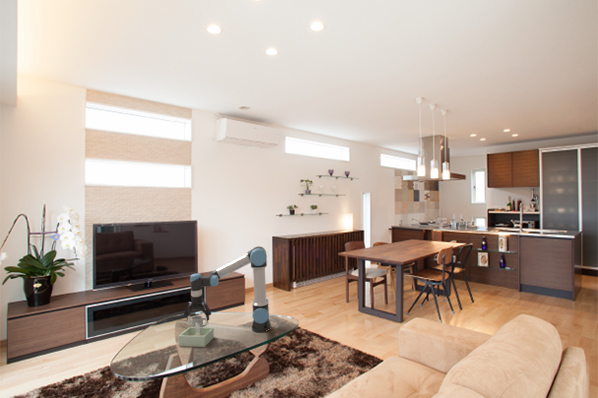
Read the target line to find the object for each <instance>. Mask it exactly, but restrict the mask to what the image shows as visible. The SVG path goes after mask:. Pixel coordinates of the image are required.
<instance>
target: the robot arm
mask: <svg viewBox="0 0 598 398" xmlns="http://www.w3.org/2000/svg"><path fill="white" fill-rule="evenodd" d="M267 259H268V256H267V251H266V249H265V248H264V247H263V246H255V247H253V248H252V249H250V250H249V251H247V252H246V254H244V255H242V256H240V257H238V258H235V259H234V260H232V261H230V262H228V263H227V264H224V265H223V266H220V267H219V268H216V269H215V270H211V271H210V272H209V273H208V275H206V276H205V275H202V274H201V273H193V274H191V275H190V276H189V278H190V279H189V281H190V283H189V284H190V299H191V301H188V302H187V305H186V308H185V310H184V313H183V316H186V321H187V326H190V325H191V318H192V317H191V313H192V312H193V310H196V309H197V310H199V309H200V310H201V311H202V312H203V313H202V314H204V315H205V316H204V318H205V320H206V321H205V320H204V321H205V323H206V326H205V327H207V326H208V325H209V320H210V316H211V315H212V311H211V309H210V308H209V305H208V302H207V301H205V302H203V289H202V288H206V287H216V286H219V281H220V279H222V278H224V277H226V276H228V275H230V274H232V273H235V272H236V271H238V270H240V269H242V268H243V267H246V266H248V265H249V264H250V268H251V269H252V273H253V295H254V297H253V298H254V299H253V302H252V319H253V321H252V324H251V331H252V332H255V333H264V332H263V331H266V330H268V329H270V328H271V329H272V323H271V321H270V312H269V309H270V308H269V299H268V298H267V292H266V290H267V288H266V268H267V266H268V265H267V264H268V261H267ZM190 307H191V308H190ZM271 329H270V330H271ZM266 332H267V331H266Z"/></svg>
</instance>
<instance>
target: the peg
mask: <svg viewBox="0 0 598 398" xmlns="http://www.w3.org/2000/svg"><path fill="white" fill-rule="evenodd" d="M195 336H200V323H196V324H195Z"/></svg>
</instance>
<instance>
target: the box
mask: <svg viewBox="0 0 598 398" xmlns="http://www.w3.org/2000/svg"><path fill="white" fill-rule="evenodd" d="M214 330H215V328H214V327H200V336H195V327H192V326H189V327H188V328H187V329H185V330H184V331H182V332H181V333H179V335H178V337H177V338H178V347H197V348H198V347H199V348H205V347H206V346H207V345H208V344H209V343H210V342H211V341H212V340H213V339H214V338H215V332H214Z"/></svg>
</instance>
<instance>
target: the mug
mask: <svg viewBox="0 0 598 398" xmlns="http://www.w3.org/2000/svg"><path fill="white" fill-rule="evenodd" d="M204 321H205V323H204ZM196 323H200V327H204V328H206V327H207V326H206V320H205V317H203V315H195V316H192V317H191V324H190V325H191V326H190V327H195V324H196Z"/></svg>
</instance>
